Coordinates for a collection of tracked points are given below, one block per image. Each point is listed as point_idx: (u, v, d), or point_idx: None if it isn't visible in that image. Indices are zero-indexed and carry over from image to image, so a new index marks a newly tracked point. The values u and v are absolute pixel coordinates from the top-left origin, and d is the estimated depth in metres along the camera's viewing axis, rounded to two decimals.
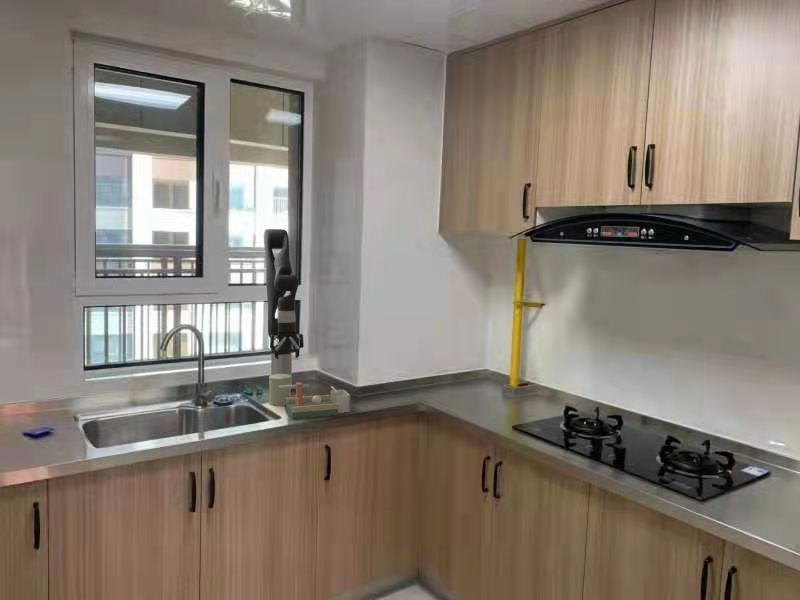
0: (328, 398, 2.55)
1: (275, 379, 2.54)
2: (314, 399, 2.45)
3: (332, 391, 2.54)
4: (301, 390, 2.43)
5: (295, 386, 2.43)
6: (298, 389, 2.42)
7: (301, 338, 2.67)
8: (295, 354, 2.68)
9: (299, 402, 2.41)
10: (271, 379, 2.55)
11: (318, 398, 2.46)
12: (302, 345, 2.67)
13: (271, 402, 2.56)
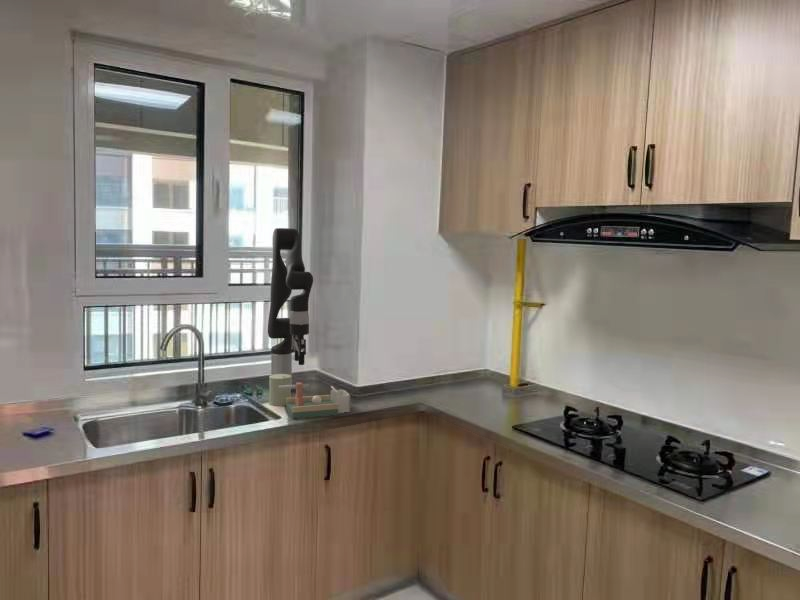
0: (328, 398, 2.55)
1: (275, 379, 2.54)
2: (314, 399, 2.45)
3: (332, 391, 2.54)
4: (301, 390, 2.43)
5: (295, 386, 2.43)
6: (298, 389, 2.42)
7: None
8: (295, 357, 2.46)
9: (299, 402, 2.41)
10: (271, 379, 2.55)
11: (318, 398, 2.46)
12: None
13: (271, 402, 2.56)
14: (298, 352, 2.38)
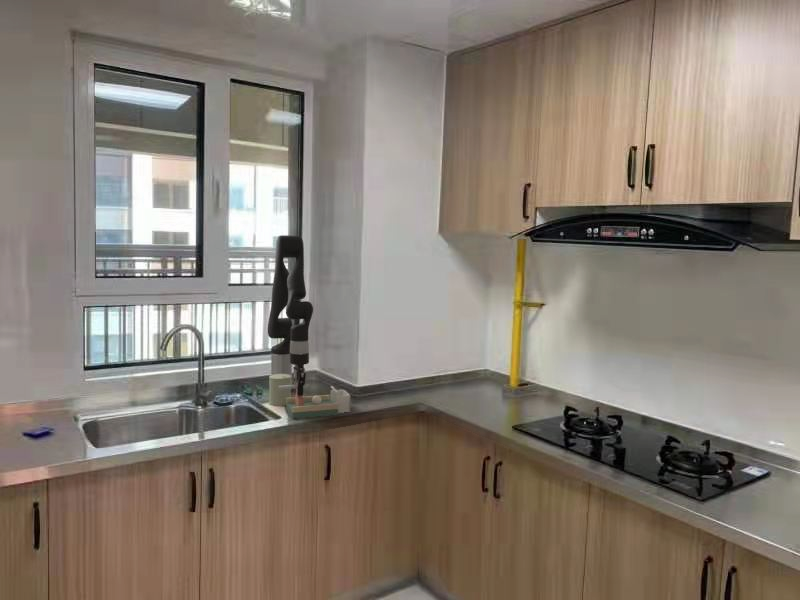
0: (328, 398, 2.55)
1: (275, 379, 2.54)
2: (314, 399, 2.45)
3: (332, 391, 2.54)
4: None
5: (295, 386, 2.43)
6: None
7: None
8: None
9: (299, 402, 2.41)
10: (271, 379, 2.55)
11: (318, 398, 2.46)
12: None
13: (271, 402, 2.56)
14: (297, 383, 2.41)
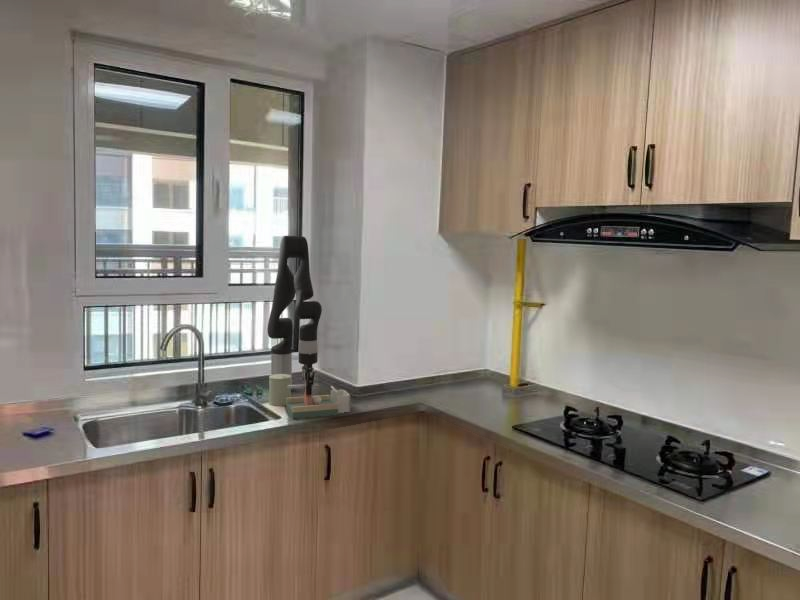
0: (328, 398, 2.55)
1: (275, 379, 2.54)
2: (314, 399, 2.45)
3: (332, 391, 2.54)
4: None
5: (304, 385, 2.44)
6: None
7: None
8: (304, 389, 2.46)
9: (308, 401, 2.42)
10: (271, 379, 2.55)
11: (318, 398, 2.46)
12: None
13: (271, 402, 2.56)
14: (306, 382, 2.42)
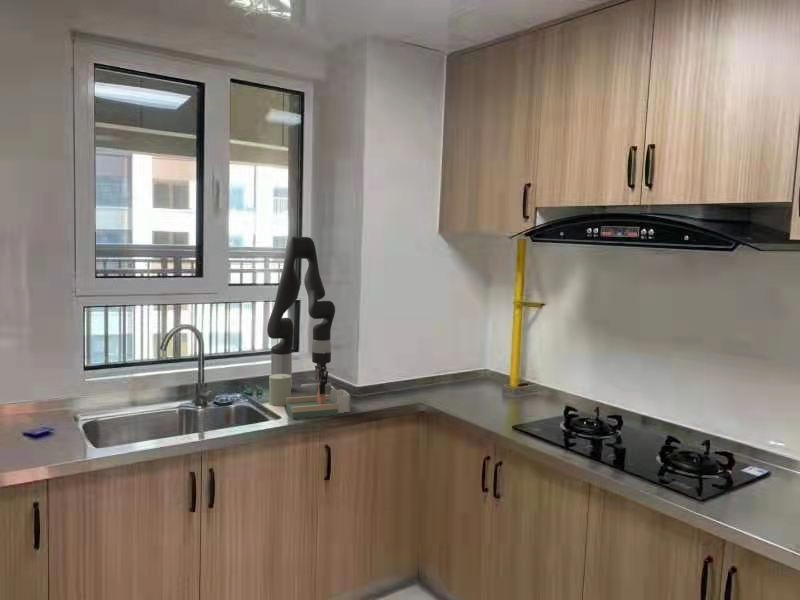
0: (328, 398, 2.55)
1: (275, 379, 2.54)
2: None
3: (332, 391, 2.54)
4: None
5: (317, 385, 2.46)
6: None
7: None
8: None
9: (321, 400, 2.44)
10: (271, 379, 2.55)
11: None
12: None
13: (271, 402, 2.56)
14: (319, 381, 2.44)
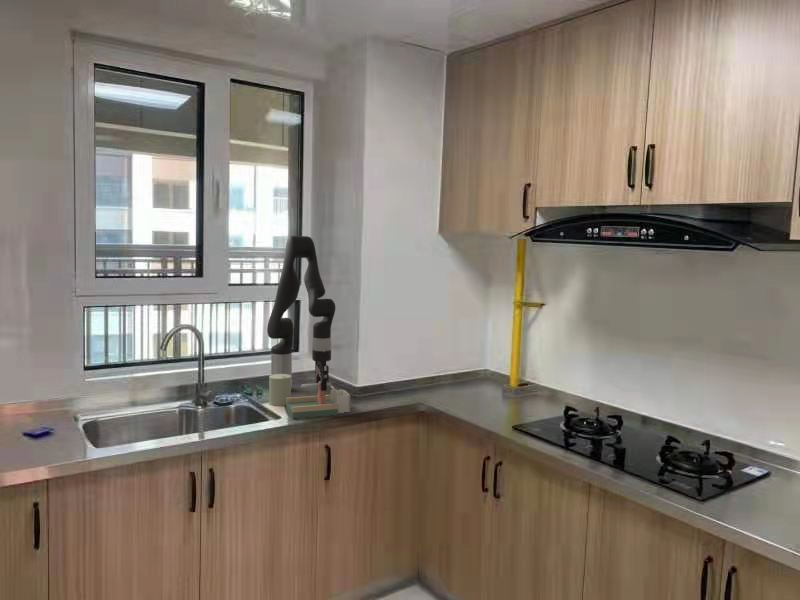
0: (328, 398, 2.55)
1: (275, 379, 2.54)
2: None
3: (332, 391, 2.54)
4: None
5: (317, 385, 2.46)
6: (320, 388, 2.45)
7: None
8: (317, 382, 2.50)
9: (321, 400, 2.44)
10: (271, 379, 2.55)
11: None
12: None
13: (271, 402, 2.56)
14: (321, 378, 2.42)
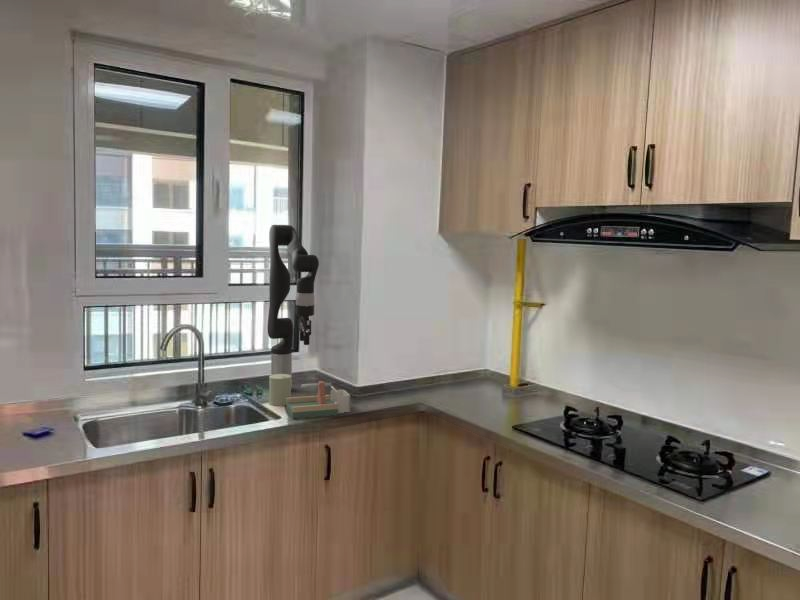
0: (328, 398, 2.55)
1: (275, 379, 2.54)
2: None
3: (332, 391, 2.54)
4: (323, 389, 2.46)
5: (317, 385, 2.46)
6: (320, 388, 2.45)
7: None
8: (300, 338, 2.55)
9: (321, 400, 2.44)
10: (271, 379, 2.55)
11: None
12: None
13: (271, 402, 2.56)
14: (303, 332, 2.46)
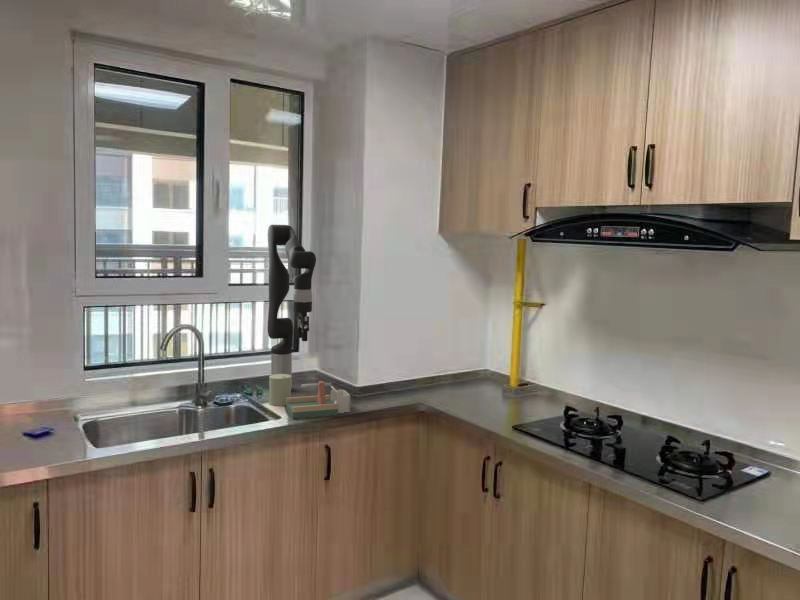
0: (328, 398, 2.55)
1: (275, 379, 2.54)
2: None
3: (332, 391, 2.54)
4: (323, 389, 2.46)
5: (317, 385, 2.46)
6: (320, 388, 2.45)
7: None
8: (298, 334, 2.55)
9: (321, 400, 2.44)
10: (271, 379, 2.55)
11: None
12: None
13: (271, 402, 2.56)
14: (301, 329, 2.47)
